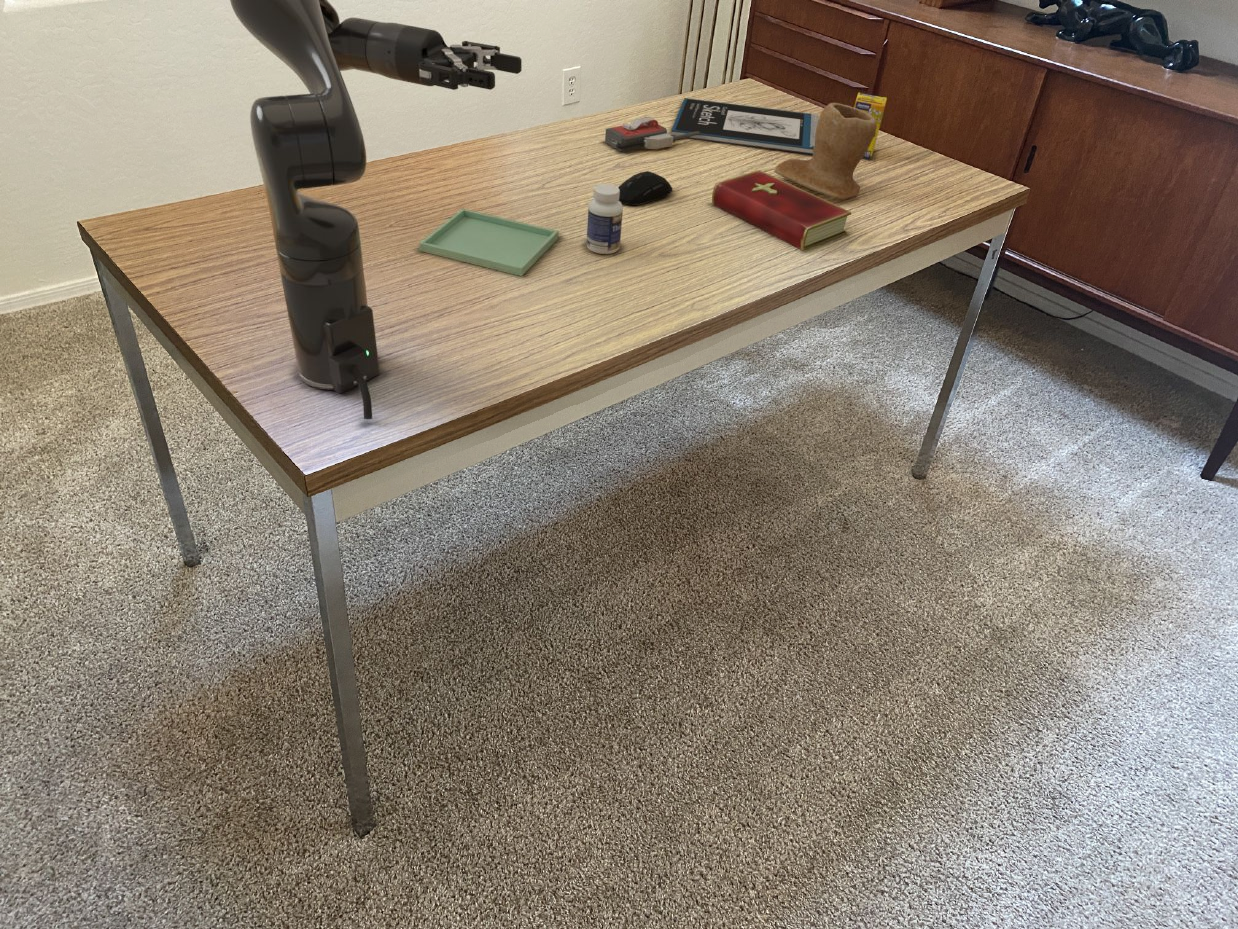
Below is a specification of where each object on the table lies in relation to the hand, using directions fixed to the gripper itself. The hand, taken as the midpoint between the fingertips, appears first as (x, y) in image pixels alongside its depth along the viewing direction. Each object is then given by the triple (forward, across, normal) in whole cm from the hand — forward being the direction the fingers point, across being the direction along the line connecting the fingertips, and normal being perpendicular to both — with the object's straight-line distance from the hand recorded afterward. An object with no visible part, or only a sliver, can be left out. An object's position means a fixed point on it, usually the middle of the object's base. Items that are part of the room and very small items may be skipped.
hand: (507, 73), depth 127 cm
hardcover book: (+37, +30, +26) cm, 55 cm away
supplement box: (+46, +71, +26) cm, 88 cm away
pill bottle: (+14, +5, +26) cm, 30 cm away
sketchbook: (+22, +72, +26) cm, 79 cm away
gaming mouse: (+13, +26, +26) cm, 39 cm away
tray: (-2, -3, +26) cm, 26 cm away
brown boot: (+42, +49, +26) cm, 69 cm away
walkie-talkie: (+6, +53, +26) cm, 59 cm away
